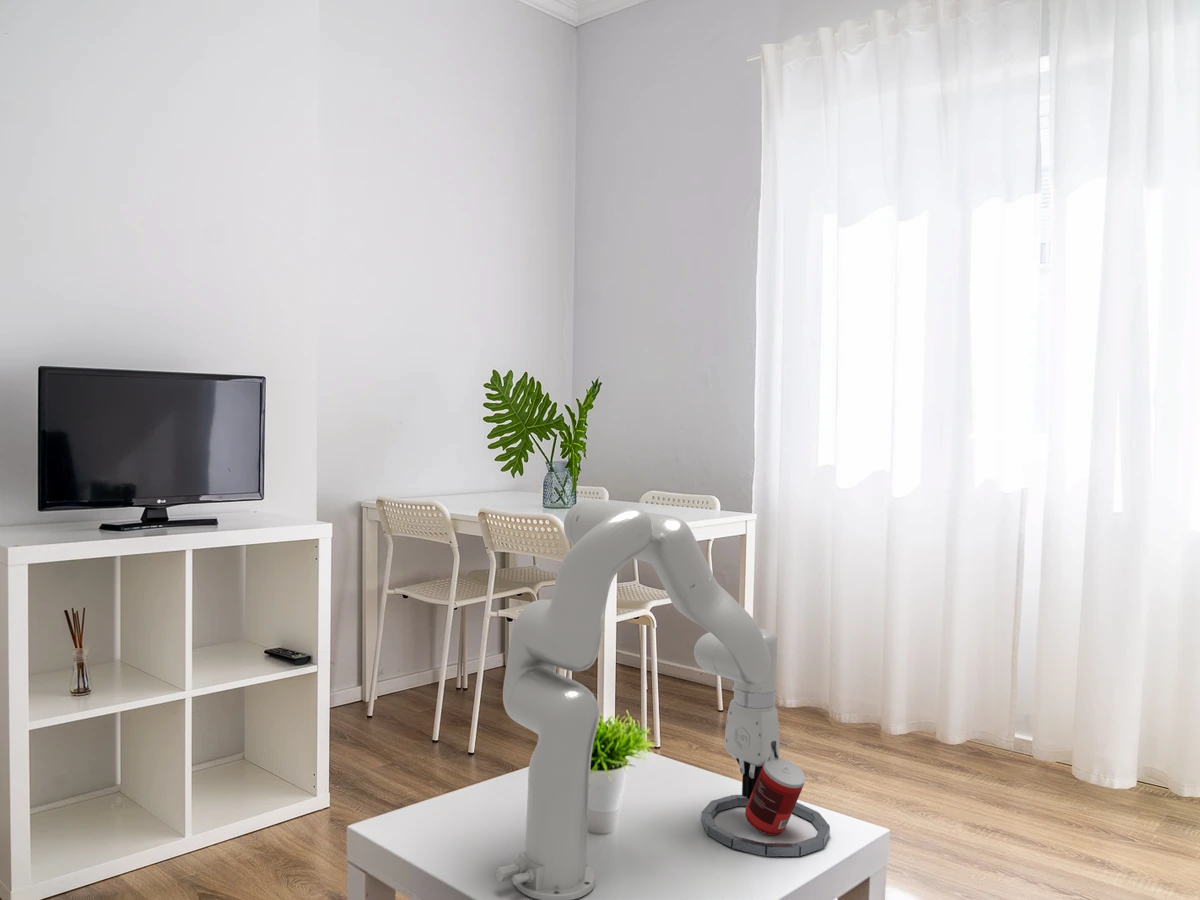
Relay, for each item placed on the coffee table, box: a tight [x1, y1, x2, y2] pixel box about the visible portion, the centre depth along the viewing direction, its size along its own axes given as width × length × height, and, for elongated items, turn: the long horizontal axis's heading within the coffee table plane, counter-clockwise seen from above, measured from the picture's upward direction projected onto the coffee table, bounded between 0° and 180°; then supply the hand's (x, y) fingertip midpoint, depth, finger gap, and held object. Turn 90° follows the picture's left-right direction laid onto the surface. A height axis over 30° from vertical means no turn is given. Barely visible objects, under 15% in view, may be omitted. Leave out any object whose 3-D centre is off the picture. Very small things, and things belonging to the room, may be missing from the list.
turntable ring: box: [700, 794, 831, 857], centre depth 166 cm, size 22×22×3 cm
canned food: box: [744, 757, 806, 836], centre depth 165 cm, size 8×8×11 cm
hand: (751, 795), depth 170 cm, fingers closed
